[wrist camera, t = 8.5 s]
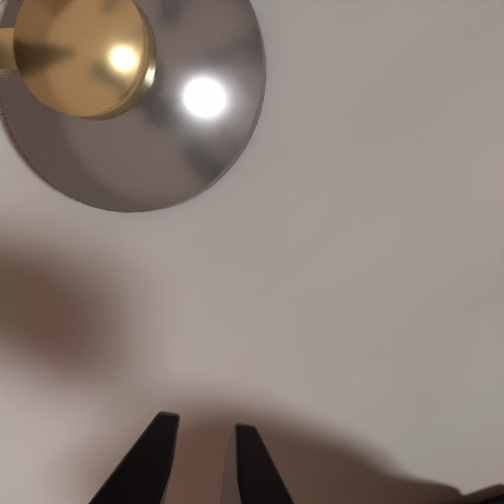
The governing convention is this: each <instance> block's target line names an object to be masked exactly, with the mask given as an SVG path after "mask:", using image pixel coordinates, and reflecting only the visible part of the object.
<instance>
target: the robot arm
mask: <svg viewBox="0 0 504 504" xmlns="http://www.w3.org/2000/svg"><path fill="white" fill-rule="evenodd" d="M179 421H180V416H179V414H177V413H170V412H164V411H161V412H159V413H158V414H157V415H156V417H155V418H154V419H153V421H152V422H151V423H150V424H149V426H148V427H147V428H146V430H145V431H144V432H143V434H142V435H141V436H140V437H139V439H138V440H137V441H136V443H135V444H134V445H133V446H132V448H131V449H130V450H129V452H128V453H127V454H126V456H125V457H124V458H123V459H122V461H121V462H120V463H119V465H118V466H117V467H116V469H115V470H114V471H113V472H112V474H111V475H110V476H109V478H108V479H107V480H106V482H105V483H104V484H103V485H102V487H101V488H100V489H99V491H98V492H97V493H96V495H95V496H94V497H93V498H92V500H91V501H90V502H89V504H164V502H165V497H166V492H167V488H168V483H169V478H170V474H171V469H172V464H173V459H174V453H175V447H176V440H177V434H178V428H179ZM221 504H295V503H294V501H293V499H292V497H291V495H290V493H289V491H288V489H287V487H286V485H285V484H284V482H283V480H282V478H281V476H280V474H279V472H278V470H277V468H276V466H275V464H274V462H273V460H272V458H271V456H270V454H269V452H268V450H267V448H266V446H265V444H264V442H263V440H262V438H261V436H260V434H259V432H258V430H257V428H256V427H255V426H253V425H248V424H241V423H237V424H235V425H234V427H233V431H232V434H231V438H230V441H229V445H228V448H227V452H226V457H225V464H224V474H223V484H222V494H221ZM477 504H504V495H501V496H498V497H495V498H492V499H489V500H486V501H483V502H480V503H477Z"/></svg>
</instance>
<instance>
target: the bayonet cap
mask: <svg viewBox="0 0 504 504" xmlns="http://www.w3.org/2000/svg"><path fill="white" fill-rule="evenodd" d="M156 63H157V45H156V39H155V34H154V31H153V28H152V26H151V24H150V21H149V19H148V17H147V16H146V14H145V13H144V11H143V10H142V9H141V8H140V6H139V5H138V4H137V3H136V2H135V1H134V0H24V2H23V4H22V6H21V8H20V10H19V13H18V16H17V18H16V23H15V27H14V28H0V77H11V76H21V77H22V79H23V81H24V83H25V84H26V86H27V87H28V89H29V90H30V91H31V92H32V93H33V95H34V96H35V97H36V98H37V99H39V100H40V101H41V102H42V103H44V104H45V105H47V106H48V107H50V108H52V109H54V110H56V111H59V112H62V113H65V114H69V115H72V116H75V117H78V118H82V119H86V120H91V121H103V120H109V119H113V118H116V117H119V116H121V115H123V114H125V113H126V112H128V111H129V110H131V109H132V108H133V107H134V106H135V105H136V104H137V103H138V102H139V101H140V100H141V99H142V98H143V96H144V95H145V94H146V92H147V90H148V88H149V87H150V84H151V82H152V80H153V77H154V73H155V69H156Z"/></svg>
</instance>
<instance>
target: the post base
mask: <svg viewBox="0 0 504 504" xmlns="http://www.w3.org/2000/svg"><path fill="white" fill-rule="evenodd" d="M134 1H135V2H136V3H137V4H138V5H139V6H140V8H141V9H142V10H143V11H144V13H145V14H146V16H147V17H148V19H149V21H150V24H151V26H152V28H153V31H154V34H155V39H156V45H157V63H156V69H155V73H154V77H153V80H152V82H151V84H150V87H149V88H148V90H147V92H146V94H145V95H144V96H143V98H142V99H141V100H140V101H139V102H138V103H137V104H136V105H135V106H134V107H133V108H132V109H131V110H129V111H128V112H126V113H125V114H123V115H121V116H119V117H116V118H113V119H109V120H103V121H91V120H86V119H82V118H78V117H75V116H72V115H69V114H65V113H62V112H59V111H56V110H54V109H52V108H50V107H48V106H47V105H45V104H44V103H42V102H41V101H40V100H39V99H37V98H36V97H35V96H34V95H33V93H32V92H31V91H30V90H29V89H28V87H27V86H26V84H25V83H24V81H23V79H22V77H21V76H11V77H0V99H1V104H2V109H3V112H4V115H5V118H6V121H7V123H8V126H9V128H10V130H11V133H12V135H13V137H14V139H15V141H16V143H17V144H18V146H19V148H20V149H21V151H22V152H23V154H24V156H25V157H26V158H27V160H28V161H29V162H30V163H31V165H32V166H33V167H34V168H35V170H36V171H37V172H38V173H39V174H40V175H41V176H43V177H44V178H45V179H46V180H47V181H48V182H49V183H50V184H52V185H53V186H54V187H56V188H57V189H58V190H60V191H61V192H62V193H64V194H66V195H68V196H69V197H71V198H73V199H75V200H76V201H79V202H81V203H84V204H86V205H89V206H91V207H95V208H99V209H103V210H107V211H115V212H124V213H125V212H146V211H154V210H159V209H165V208H169V207H172V206H175V205H178V204H181V203H183V202H185V201H188V200H190V199H192V198H194V197H196V196H198V195H199V194H201V193H202V192H204V191H205V190H207V189H208V188H210V187H211V186H212V185H213V184H215V183H216V182H217V181H218V180H219V179H220V178H222V177H223V176H224V175H225V174H226V172H227V171H228V170H229V169H230V168H231V167H232V166H233V165H234V163H235V162H236V161H237V159H238V158H239V156H240V155H241V153H242V152H243V150H244V149H245V148H246V146H247V144H248V142H249V140H250V138H251V136H252V134H253V132H254V129H255V127H256V124H257V121H258V118H259V115H260V112H261V108H262V103H263V99H264V93H265V83H266V56H265V50H264V43H263V37H262V34H261V30H260V27H259V23H258V20H257V17H256V15H255V12H254V10H253V7H252V5H251V3H250V0H134ZM23 2H24V0H10V3H9V5H8V8H7V11H6V13H5V16H4V19H3V23H2V27H1V28H14V27H15V23H16V18H17V16H18V13H19V10H20V8H21V6H22V4H23Z"/></svg>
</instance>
